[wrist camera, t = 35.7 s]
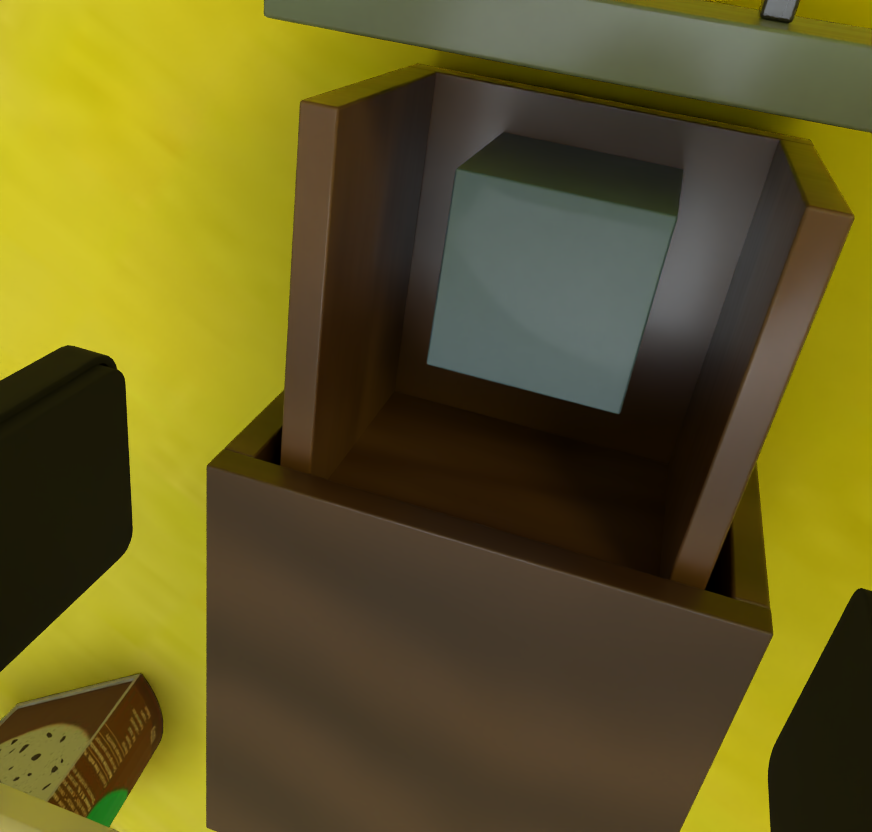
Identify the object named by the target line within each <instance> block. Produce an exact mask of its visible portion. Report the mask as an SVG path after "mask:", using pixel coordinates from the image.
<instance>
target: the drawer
mask: <svg viewBox="0 0 872 832" xmlns="http://www.w3.org/2000/svg"><path fill="white" fill-rule="evenodd" d="M799 2H800V0H762V2H761V6H760V9H759V10H757V9H751V8H746V7H740V6H734V5H728V4H722V3H716V2H710V1H704V0H264V16H266V17H267V18H272V19H278V20H283V21H288V22H293V23H298V24H304V25H309V26H314V27H319V28H325V29H330V30H335V31H340V32H346V33H351V34H356V35H361V36H367V37H372V38H377V39H382V40H388V41H393V42H398V43H403V44H409V45H414V46H419V47H424V48H430V49H435V50H440V51H445V52H451V53H456V54H461V55H466V56H471V57H477V58H482V59H487V60H492V61H498V62H503V63H508V64H513V65H519V66H524V67H529V68H534V69H540V70H545V71H550V72H555V73H561V74H566V75H571V76H576V77H582V78H587V79H592V80H597V81H603V82H608V83H613V84H618V85H624V86H629V87H634V88H639V89H644V90H650V91H655V92H660V93H665V94H671V95H676V96H681V97H686V98H692V99H697V100H702V101H707V102H713V103H718V104H723V105H728V106H734V107H739V108H744V109H749V110H755V111H760V112H765V113H770V114H776V115H781V116H786V117H791V118H796V119H802V120H807V121H812V122H817V123H823V124H828V125H833V126H838V127H844V128H849V129H854V130H859V131H865V132H870V133H872V29H869V28H863V27H857V26H852V25H846V24H840V23H834V22H828V21H822V20H816V19H810V18H804V17H799V16H795V14H796V11H797V8H798V5H799ZM504 132H505V133H510V134H514V135H519V136H524V137H529V138H534V139H539V140H543V141H548V142H553V143H558V144H563V145H568V146H573V147H577V148H582V149H587V150H592V151H597V152H602V153H607V154H611V155H616V156H621V157H626V158H631V159H636V160H641V161H645V162H650V163H655V164H660V165H665V166H670V167H674V168H679V169H683V170H684V173H683V181H682V188H681V196H680V203H679V211H678V218H677V222H676V225H675V228H674V232H673V235H672V239H671V242H670V245H669V249H668V252H667V256H666V259H665V262H664V266H663V269H662V273H661V276H660V279H659V283H658V286H657V290H656V293H655V297H654V300H653V303H652V307H651V310H650V314H649V317H648V320H647V324H646V327H645V331H644V334H643V337H642V341H641V344H640V348H639V351H638V354H637V358H636V361H635V365H634V368H633V371H632V375H631V378H630V382H629V385H628V389H627V392H626V395H625V399H624V402H623V406H622V409H621V412H620V414H615V413H611V412H607V411H604V410H600V409H596V408H592V407H588V406H584V405H581V404H577V403H573V402H569V401H565V400H561V399H558V398H554V397H550V396H546V395H542V394H539V393H535V392H531V391H527V390H523V389H519V388H516V387H512V386H508V385H504V384H500V383H496V382H493V381H489V380H485V379H481V378H477V377H473V376H470V375H466V374H462V373H458V372H454V371H450V370H447V369H443V368H439V367H435V366H431V365H428V364H427V356H428V349H429V342H430V336H431V329H432V322H433V316H434V309H435V303H436V296H437V289H438V283H439V276H440V269H441V263H442V256H443V249H444V243H445V236H446V230H447V223H448V216H449V210H450V203H451V196H452V190H453V183H454V177H455V170H456V168H458V167H459V166H460V165H462V164H463V163H464V162H465V161H467V160H468V159H469V158H471V157H472V156H473V155H474V154H476V153H477V152H478V151H480V150H481V149H482V148H483V147H485V146H486V145H487V144H489V143H490V142H491V141H492V140H494V139H495V138H496V137H498V136H499V135H500V134H501V133H504ZM853 221H854V214H853V213H852V211H851V209H850V207H849V206H848V204H847V202H846V201H845V199H844V197H843V195H842V194H841V192H840V190H839V189H838V187H837V185H836V184H835V182H834V180H833V178H832V177H831V175H830V173H829V172H828V170H827V168H826V167H825V165H824V163H823V161H822V160H821V158H820V156H819V155H818V153H817V151H816V149H815V148H814V145H813V143H812V142H811V140H809V139H804V138H799V137H794V136H788V135H783V134H778V133H773V132H768V131H763V130H758V129H752V128H747V127H742V126H737V125H732V124H727V123H722V122H717V121H711V120H706V119H701V118H696V117H691V116H686V115H681V114H675V113H670V112H665V111H660V110H655V109H650V108H645V107H639V106H634V105H629V104H624V103H619V102H614V101H609V100H603V99H598V98H593V97H588V96H583V95H578V94H573V93H567V92H562V91H557V90H552V89H547V88H542V87H537V86H531V85H526V84H521V83H516V82H511V81H506V80H501V79H496V78H490V77H485V76H480V75H475V74H470V73H465V72H460V71H454V70H449V69H444V68H439V67H434V66H429V65H424V64H418V63H417V64H414V65H411V66H408V67H405V68H402V69H399V70H395V71H392V72H389V73H386V74H383V75H380V76H376V77H373V78H370V79H367V80H364V81H361V82H358V83H354V84H351V85H348V86H345V87H342V88H339V89H335V90H332V91H329V92H326V93H323V94H320V95H316V96H313V97H310V98H307V99H304V100H301V102H300V114H299V132H298V150H297V169H296V187H295V205H294V223H293V242H292V260H291V278H290V296H289V315H288V333H287V351H286V369H285V388H284V406H283V424H282V443H281V461H280V466H283V467H286V468H290V469H293V470H297V471H300V472H303V473H307V474H310V475H314V476H317V477H321V478H324V479H327V480H331V481H334V482H338V483H341V484H344V485H348V486H351V487H355V488H358V489H361V490H365V491H368V492H372V493H375V494H378V495H382V496H385V497H389V498H392V499H396V500H399V501H402V502H406V503H409V504H413V505H416V506H419V507H423V508H426V509H430V510H433V511H436V512H440V513H443V514H447V515H450V516H454V517H457V518H460V519H464V520H467V521H471V522H474V523H477V524H481V525H484V526H488V527H491V528H494V529H498V530H501V531H505V532H508V533H511V534H515V535H518V536H522V537H525V538H529V539H532V540H535V541H539V542H542V543H546V544H549V545H552V546H556V547H559V548H563V549H566V550H569V551H573V552H576V553H580V554H583V555H586V556H590V557H593V558H597V559H600V560H604V561H607V562H610V563H614V564H617V565H621V566H624V567H627V568H631V569H634V570H638V571H641V572H644V573H648V574H651V575H655V576H658V577H661V578H665V579H668V580H672V581H675V582H679V583H682V584H685V585H689V586H692V587H696V588H699V589H702V590H705V588H706V585H707V583H708V580H709V578H710V575H711V573H712V570H713V568H714V565H715V563H716V561H717V558H718V556H719V553H720V551H721V548H722V546H723V543H724V541H725V538H726V536H727V533H728V531H729V528H730V526H731V523H732V521H733V518H734V516H735V513H736V511H737V508H738V506H739V504H740V501H741V499H742V496H743V494H744V491H745V489H746V486H747V484H748V481H749V479H750V476H751V474H752V471H753V469H754V466H755V464H756V461H757V459H758V456H759V454H760V451H761V449H762V447H763V444H764V442H765V439H766V437H767V434H768V432H769V429H770V427H771V424H772V422H773V419H774V417H775V414H776V412H777V409H778V407H779V404H780V402H781V399H782V397H783V394H784V392H785V390H786V387H787V385H788V382H789V380H790V377H791V375H792V372H793V370H794V367H795V365H796V362H797V360H798V357H799V355H800V352H801V350H802V347H803V345H804V342H805V340H806V337H807V335H808V333H809V330H810V328H811V325H812V323H813V320H814V318H815V315H816V313H817V310H818V308H819V305H820V303H821V300H822V298H823V295H824V293H825V290H826V288H827V285H828V283H829V280H830V278H831V276H832V273H833V271H834V268H835V266H836V263H837V261H838V258H839V256H840V253H841V251H842V248H843V246H844V243H845V241H846V238H847V236H848V233H849V231H850V228H851V226H852V223H853Z"/></svg>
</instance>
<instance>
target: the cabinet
mask: <svg viewBox="0 0 872 832" xmlns="http://www.w3.org/2000/svg"><path fill="white" fill-rule="evenodd" d="M283 406H284V390H283V391H282V392H281V393H280V394H279V395H278V396H277V397H276V398H275V399H274V400H273V401H272V402H271V403H270V404H269V405H268V406H267V407H266V408H265V409H264V410H263V411H262V412H261V413H260V414H259V415H258V416H257V417H256V418H255V419H254V420H253V421H252V422H251V423H250V424H249V425H248V426H247V427H246V428H245V429H244V430H243V431H241V432H240V433H239V434H238V435H237V436H236V437H235V438H234V439H233V440H232V441H231V442H230V443H229V444H228V445H227V446H226V447H225V449H224V450H222V451H221V452H220V453H219V454H218V455H217V456H216V457H215V458H214V459H213V460H212V461H211V462H210V463H209V464H208V465H207V716H206V827H207V828H209V829H212V830H214V831H217V832H680V830H681V828H682V826H683V823H684V821H685V819H686V817H687V815H688V813H689V811H690V809H691V807H692V805H693V802H694V800H695V798H696V796H697V794H698V792H699V790H700V788H701V786H702V784H703V781H704V779H705V777H706V775H707V773H708V771H709V769H710V767H711V765H712V763H713V760H714V758H715V756H716V754H717V752H718V750H719V748H720V746H721V744H722V742H723V739H724V737H725V735H726V733H727V731H728V729H729V727H730V725H731V723H732V721H733V718H734V716H735V714H736V712H737V710H738V708H739V706H740V704H741V702H742V700H743V697H744V695H745V693H746V691H747V689H748V687H749V685H750V683H751V681H752V679H753V676H754V674H755V672H756V670H757V668H758V666H759V664H760V662H761V660H762V658H763V655H764V653H765V651H766V649H767V647H768V645H769V643H770V641H771V639H772V637H773V626H772V616H771V610H770V601H769V591H768V580H767V569H766V558H765V548H764V537H763V526H762V516H761V505H760V494H759V483H758V473H757V462H756V464H755V466H754V469H753V471H752V474H751V476H750V479H749V481H748V484H747V486H746V489H745V491H744V494H743V496H742V499H741V501H740V504H739V506H738V508H737V511H736V513H735V516H734V518H733V521H732V523H731V526H730V528H729V531H728V533H727V536H726V538H725V541H724V543H723V546H722V548H721V551H720V553H719V556H718V558H717V561H716V563H715V565H714V568H713V570H712V573H711V575H710V578H709V580H708V583H707V585H706V588H705V590H702V589H699V588H696V587H692V586H689V585H685V584H682V583H679V582H675V581H672V580H668V579H665V578H661V577H658V576H655V575H651V574H648V573H644V572H641V571H638V570H634V569H631V568H627V567H624V566H621V565H617V564H614V563H610V562H607V561H604V560H600V559H597V558H593V557H590V556H586V555H583V554H580V553H576V552H573V551H569V550H566V549H563V548H559V547H556V546H552V545H549V544H546V543H542V542H539V541H535V540H532V539H529V538H525V537H522V536H518V535H515V534H511V533H508V532H505V531H501V530H498V529H494V528H491V527H488V526H484V525H481V524H477V523H474V522H471V521H467V520H464V519H460V518H457V517H454V516H450V515H447V514H443V513H440V512H436V511H433V510H430V509H426V508H423V507H419V506H416V505H413V504H409V503H406V502H402V501H399V500H396V499H392V498H389V497H385V496H382V495H378V494H375V493H372V492H368V491H365V490H361V489H358V488H355V487H351V486H348V485H344V484H341V483H338V482H334V481H331V480H327V479H324V478H321V477H317V476H314V475H310V474H307V473H303V472H300V471H297V470H293V469H290V468H286V467H283V466H280V461H281V443H282V424H283Z"/></svg>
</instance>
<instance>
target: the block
mask: <svg viewBox="0 0 872 832" xmlns="http://www.w3.org/2000/svg"><path fill="white" fill-rule="evenodd" d="M683 173H684V170H683V169H679V168H674V167H670V166H665V165H660V164H655V163H650V162H645V161H641V160H636V159H631V158H626V157H621V156H616V155H611V154H607V153H602V152H597V151H592V150H587V149H582V148H577V147H573V146H568V145H563V144H558V143H553V142H548V141H543V140H539V139H534V138H529V137H524V136H519V135H514V134H510V133H505V132H504V133H501V134H500V135H499V136H498V137H496V138H495V139H494V140H492V141H491V142H490V143H489V144H487V145H486V146H485V147H483V148H482V149H481V150H480V151H478V152H477V153H476V154H474V155H473V156H472V157H471V158H469V159H468V160H467V161H465V162H464V163H463V164H462V165H460V166H459V167H458V168H456V170H455V177H454V183H453V190H452V196H451V203H450V210H449V216H448V223H447V230H446V236H445V243H444V249H443V256H442V263H441V269H440V276H439V283H438V289H437V296H436V303H435V309H434V316H433V322H432V329H431V336H430V342H429V349H428V356H427V364H428V365H431V366H435V367H439V368H443V369H447V370H450V371H454V372H458V373H462V374H466V375H470V376H473V377H477V378H481V379H485V380H489V381H493V382H496V383H500V384H504V385H508V386H512V387H516V388H519V389H523V390H527V391H531V392H535V393H539V394H542V395H546V396H550V397H554V398H558V399H561V400H565V401H569V402H573V403H577V404H581V405H584V406H588V407H592V408H596V409H600V410H604V411H607V412H611V413H615V414H620V412H621V409H622V406H623V402H624V399H625V395H626V392H627V389H628V385H629V382H630V378H631V375H632V371H633V368H634V365H635V361H636V358H637V354H638V351H639V348H640V344H641V341H642V337H643V334H644V331H645V327H646V324H647V320H648V317H649V314H650V310H651V307H652V303H653V300H654V297H655V293H656V290H657V286H658V283H659V279H660V276H661V273H662V269H663V266H664V262H665V259H666V256H667V252H668V249H669V245H670V242H671V239H672V235H673V232H674V228H675V225H676V222H677V218H678V211H679V203H680V196H681V188H682V181H683Z"/></svg>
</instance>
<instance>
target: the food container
mask: <svg viewBox="0 0 872 832" xmlns="http://www.w3.org/2000/svg"><path fill="white" fill-rule="evenodd" d="M162 734H163V719H162V714H161V710H160V707H159V704H158V701H157V699H156V697H155V695H154V693H153V691H152V689H151V687H150V686H149V684H148V683H147V681H146V680H145V678H144V677H143V675H142V674H141V673H140V674H136V675H132V676H128V677H124V678H120V679H116V680H112V681H108V682H104V683H100V684H96V685H92V686H88V687H84V688H80V689H75V690H71V691H67V692H63V693H59V694H55V695H51V696H47V697H43V698H39V699H35V700H31V701H27V702H23V703H19V704H17V705H16V706H15V707H14V708H13V709H11V710H10V711H9V712H8V713H7V714H6V715H5V716H4V717H3V718H2V719H1V720H0V783H2V784H4V785H7V786H9V787H12V788H14V789H17V790H19V791H21V792H24V793H26V794H29V795H31V796H34V797H36V798H39V799H41V800H44V801H46V802H48V803H51V804H53V805H56V806H58V807H61V808H63V809H65V810H68V811H70V812H73V813H75V814H78V815H80V816H82V817H85V818H87V819H90V820H92V821H94V822H97V823H99V824H102V825H104V826H107V827H110V825H111V823H112V822H113V820H114V818H115V817H116V815H117V813H118V812H119V810H120V808H121V807H122V805H123V803H124V802H125V800H126V798H127V797H128V795H129V793H130V792H131V790H132V788H133V787H134V785H135V783H136V782H137V780H138V778H139V777H140V775H141V773H142V772H143V770H144V768H145V767H146V765H147V763H148V762H149V760H150V758H151V757H152V755H153V753H154V752H155V750H156V748H157V746H158V745H159V743H160V741H161V738H162Z"/></svg>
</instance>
